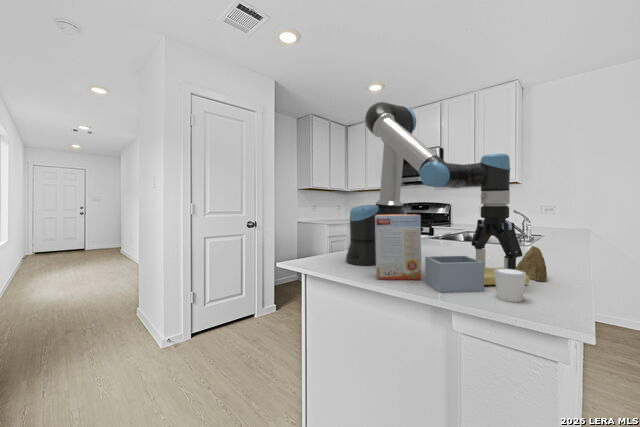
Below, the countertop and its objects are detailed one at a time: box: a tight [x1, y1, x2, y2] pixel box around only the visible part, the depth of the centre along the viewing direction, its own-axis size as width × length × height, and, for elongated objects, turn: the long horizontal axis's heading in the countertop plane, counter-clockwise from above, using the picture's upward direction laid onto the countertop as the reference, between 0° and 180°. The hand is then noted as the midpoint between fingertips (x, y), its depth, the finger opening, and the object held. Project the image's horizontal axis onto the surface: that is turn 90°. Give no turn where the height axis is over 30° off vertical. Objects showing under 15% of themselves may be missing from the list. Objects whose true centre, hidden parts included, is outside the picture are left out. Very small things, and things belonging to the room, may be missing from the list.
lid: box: [484, 267, 530, 286], centre depth 89 cm, size 11×14×3 cm
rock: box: [515, 245, 548, 282], centre depth 92 cm, size 11×9×10 cm
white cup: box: [494, 269, 526, 303], centre depth 74 cm, size 7×7×7 cm
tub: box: [424, 255, 485, 293], centre depth 84 cm, size 10×13×8 cm
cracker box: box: [375, 213, 422, 281], centre depth 94 cm, size 14×6×21 cm, turn 84°
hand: (493, 274), depth 89 cm, fingers open, 13 cm apart
